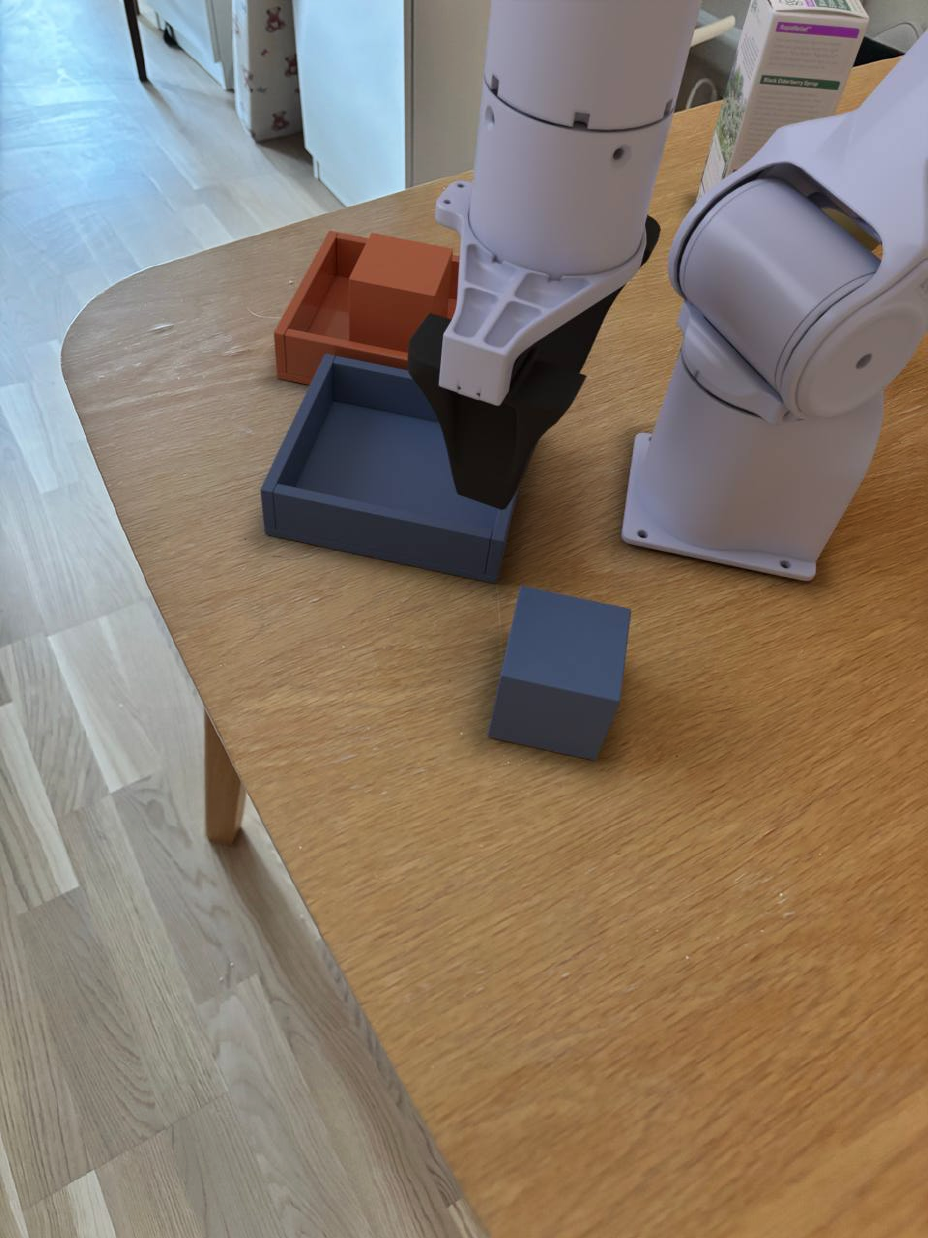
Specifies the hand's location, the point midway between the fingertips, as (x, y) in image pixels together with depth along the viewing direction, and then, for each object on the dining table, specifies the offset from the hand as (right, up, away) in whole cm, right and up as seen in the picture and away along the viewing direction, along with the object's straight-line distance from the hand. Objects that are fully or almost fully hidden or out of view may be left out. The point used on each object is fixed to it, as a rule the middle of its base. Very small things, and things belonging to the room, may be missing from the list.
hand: (517, 435), depth 39 cm
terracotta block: (-6, +9, +16) cm, 19 cm away
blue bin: (-5, -1, +10) cm, 11 cm away
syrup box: (+17, +19, +28) cm, 38 cm away
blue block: (+2, -11, +2) cm, 11 cm away
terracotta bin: (-6, +8, +16) cm, 19 cm away
